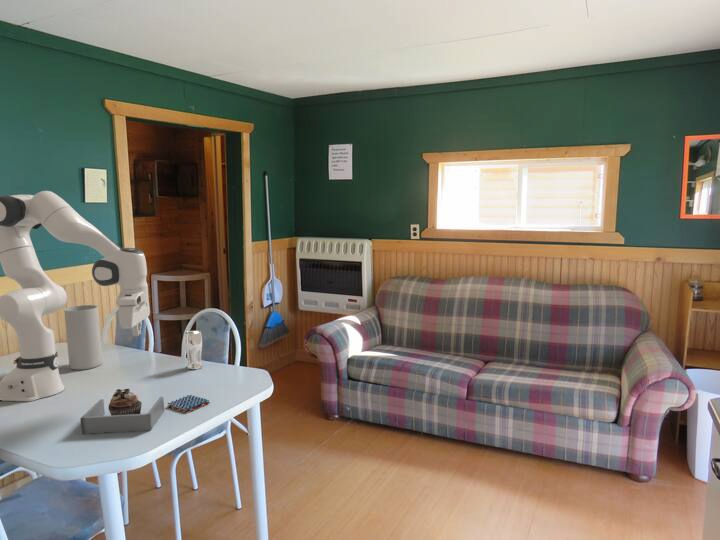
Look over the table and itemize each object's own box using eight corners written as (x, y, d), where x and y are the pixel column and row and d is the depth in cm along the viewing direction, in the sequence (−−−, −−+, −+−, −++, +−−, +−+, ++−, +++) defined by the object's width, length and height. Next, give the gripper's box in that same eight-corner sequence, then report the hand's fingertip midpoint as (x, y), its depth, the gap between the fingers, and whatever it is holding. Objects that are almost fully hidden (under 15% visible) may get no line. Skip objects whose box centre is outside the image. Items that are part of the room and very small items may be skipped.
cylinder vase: (108, 364, 228) (104, 306, 224) (80, 372, 217) (74, 312, 214) (91, 359, 235) (87, 304, 231) (63, 367, 224) (58, 309, 221)
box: (81, 434, 159) (80, 418, 158) (101, 414, 174) (100, 399, 173) (150, 430, 161) (149, 414, 160) (164, 411, 176) (163, 396, 175)
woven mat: (186, 415, 173) (186, 409, 173) (165, 408, 179) (165, 403, 179) (211, 404, 182) (211, 399, 181) (191, 398, 187) (190, 393, 187)
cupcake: (143, 422, 167) (141, 392, 165) (109, 428, 163) (106, 397, 162) (142, 411, 175) (140, 382, 174) (109, 417, 172) (107, 387, 170)
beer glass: (198, 370, 217) (196, 334, 215) (182, 369, 218) (180, 334, 216) (206, 365, 224) (204, 330, 222) (191, 364, 225) (189, 330, 223)
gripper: (135, 290, 191) (137, 328, 193) (113, 301, 171) (116, 343, 173) (153, 290, 192) (155, 327, 194) (134, 301, 172) (136, 342, 173)
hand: (136, 335), depth 183 cm, fingers closed
